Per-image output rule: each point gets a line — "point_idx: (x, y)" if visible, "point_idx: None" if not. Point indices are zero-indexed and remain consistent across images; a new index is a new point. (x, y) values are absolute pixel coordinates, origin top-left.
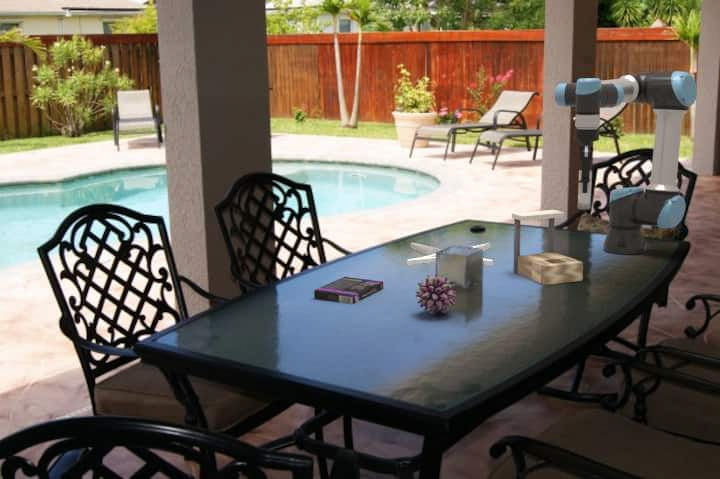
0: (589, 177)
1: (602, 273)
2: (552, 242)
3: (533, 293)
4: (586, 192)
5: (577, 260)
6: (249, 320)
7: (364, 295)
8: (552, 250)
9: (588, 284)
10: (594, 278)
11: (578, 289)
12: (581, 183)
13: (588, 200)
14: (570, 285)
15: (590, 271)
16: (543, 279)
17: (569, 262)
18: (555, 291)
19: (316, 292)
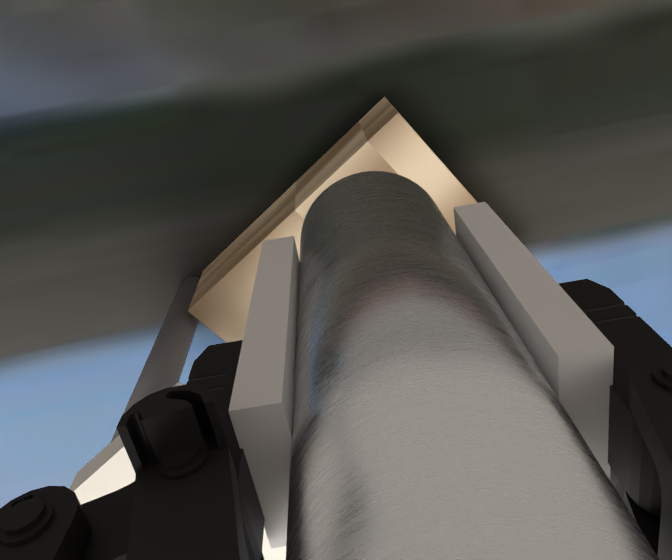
0: (577, 439)
1: (186, 18)
2: (179, 349)
3: (665, 254)
4: (594, 291)
5: (359, 152)
6: None
7: None
8: (186, 324)
9: (456, 50)
10: (317, 43)
11: (567, 81)
12: (603, 469)
13: (497, 217)
14: (496, 134)
15: (168, 93)
16: None
17: (424, 184)
18: (620, 176)
19: None
